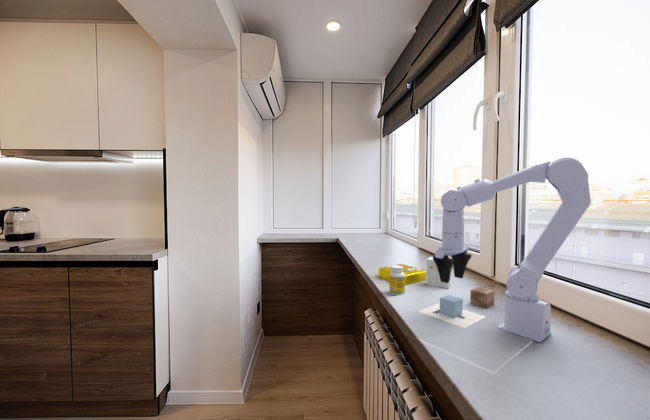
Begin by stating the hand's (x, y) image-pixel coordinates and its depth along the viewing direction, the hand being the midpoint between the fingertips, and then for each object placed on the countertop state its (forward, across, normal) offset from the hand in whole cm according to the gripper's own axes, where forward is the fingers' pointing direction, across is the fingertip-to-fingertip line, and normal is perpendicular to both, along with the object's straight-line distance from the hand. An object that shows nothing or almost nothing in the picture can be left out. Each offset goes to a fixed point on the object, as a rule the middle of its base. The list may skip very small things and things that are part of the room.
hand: (451, 279), depth 85 cm
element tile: (+11, -20, -33) cm, 40 cm away
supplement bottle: (+11, -3, -22) cm, 25 cm away
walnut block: (+10, -15, +2) cm, 18 cm away
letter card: (+10, 0, 0) cm, 10 cm away
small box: (+11, -23, -18) cm, 31 cm away
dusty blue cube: (+10, 0, 0) cm, 10 cm away
